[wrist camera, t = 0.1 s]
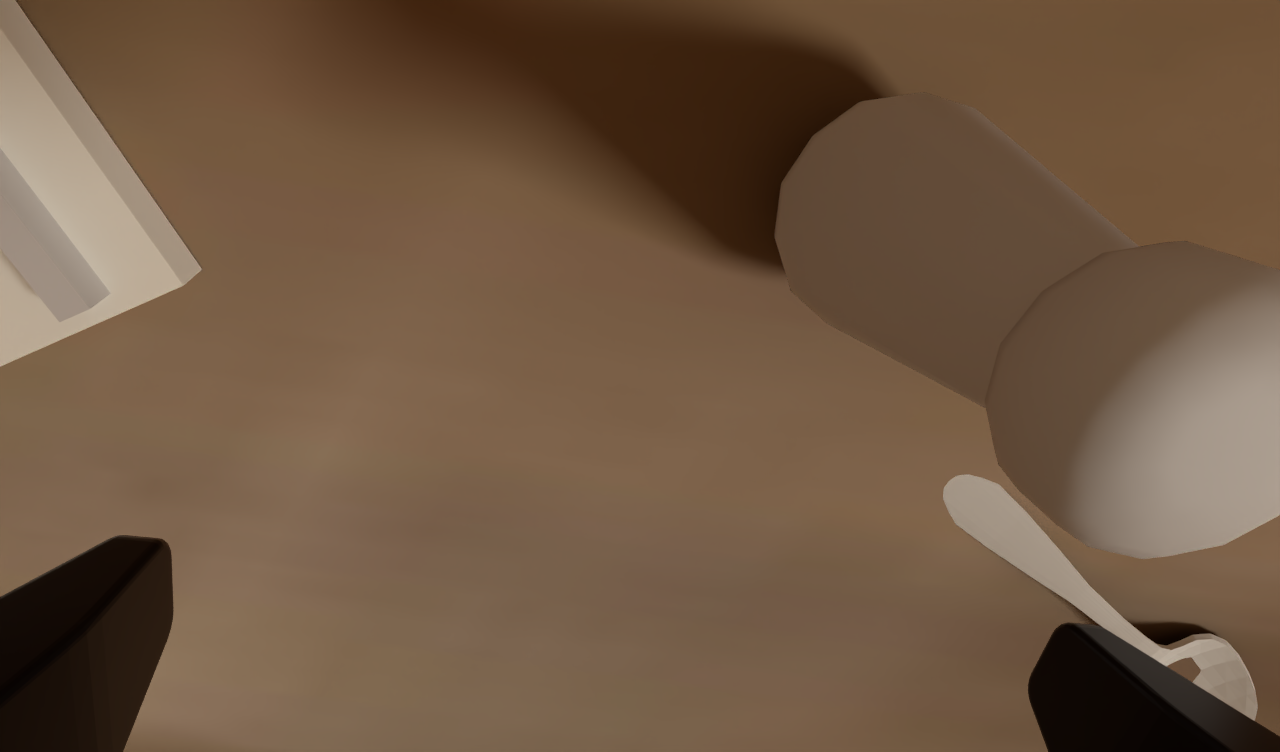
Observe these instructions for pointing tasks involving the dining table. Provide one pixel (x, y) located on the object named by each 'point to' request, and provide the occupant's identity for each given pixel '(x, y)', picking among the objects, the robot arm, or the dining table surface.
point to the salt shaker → (1046, 323)
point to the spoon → (1087, 586)
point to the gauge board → (68, 207)
